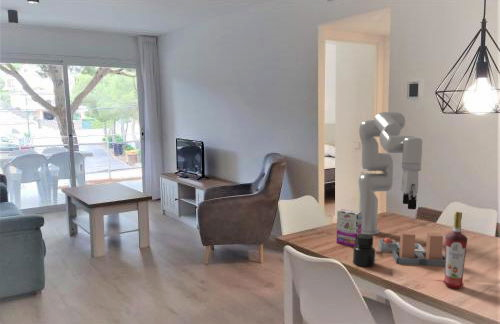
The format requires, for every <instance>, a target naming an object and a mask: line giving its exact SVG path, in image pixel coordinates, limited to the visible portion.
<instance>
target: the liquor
mask: <svg viewBox="0 0 500 324" xmlns="http://www.w3.org/2000/svg"><path fill="white" fill-rule="evenodd" d="M462 218H463V212H461V211H454V212H453V225H452V230H451V232H449V233H447V234H445V236H444V238H445V239H444V240H445V245H444V255H445V266H444V279H443V280H442V283H444V284H445V286H447V288H450V289H454V290H456V289H460V288H462V287H463V286H464V282H463V278H464V271H465V270H464V269H465V268H464V267H465V263H466V262H465V260H466V255H467V245H468V239H469V238H468V237H467V236H466V235H465V234H462Z"/></svg>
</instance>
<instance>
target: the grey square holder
mask: <svg viewBox="0 0 500 324" xmlns="http://www.w3.org/2000/svg"><path fill="white" fill-rule="evenodd" d="M384 240H385V238H378V250H379V252H380V254H382V252H388V253H390V252H391V253H392V251H398V250H397V243H398V242H396V240H395V239H393V238H391V243H384Z"/></svg>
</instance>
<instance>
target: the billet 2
mask: <svg viewBox="0 0 500 324" xmlns="http://www.w3.org/2000/svg"><path fill="white" fill-rule="evenodd" d="M443 241H444V235H442V234H441V233H440V232H428V231H427V232H426V247H425V251H426V259H437V260H442V253H443Z"/></svg>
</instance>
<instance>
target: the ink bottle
mask: <svg viewBox="0 0 500 324" xmlns="http://www.w3.org/2000/svg"><path fill="white" fill-rule="evenodd" d="M356 242H357V243H356V244H357V245H356V246H355V247H353V253H352V254H353V255H352V257H353V259H352V262H353V264H354V265H356V266H360V267H361V268H362V267H363V268H369V267H373V266H375V263H376V262H375V261H376V249H375V247H374V246H373V245H374V235H368V234H359V235H357V239H356Z"/></svg>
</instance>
